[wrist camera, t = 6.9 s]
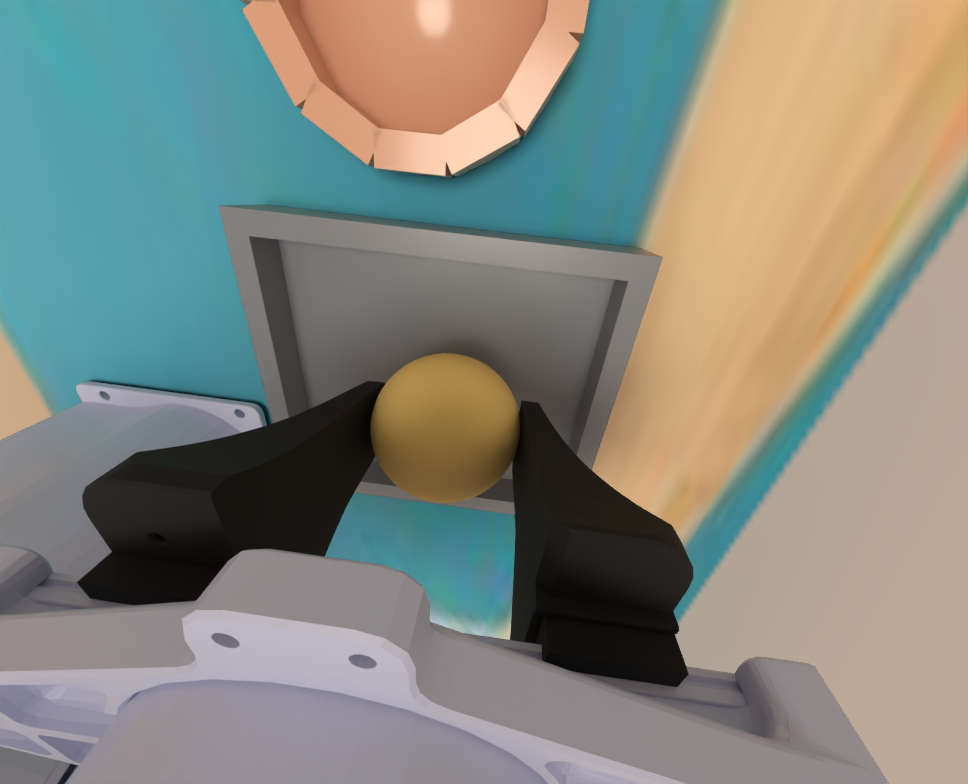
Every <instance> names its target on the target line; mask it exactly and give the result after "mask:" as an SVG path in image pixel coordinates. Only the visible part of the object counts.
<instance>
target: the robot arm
mask: <svg viewBox="0 0 968 784" xmlns="http://www.w3.org/2000/svg"><path fill="white" fill-rule="evenodd" d="M384 385H385V383H383V382H376V381H367V382H364V383H362V384H360V385H358V386H356V387H354V388H352V389H350V390H348V391H346V392H344V393H342V394H340V395H338V396H336V397H334V398H332V399H330V400H328V401H326V402H324V403H322V404H320V405H317V406H315V407H313V408H311V409H308V410H306V411H304V412H302V413H299V414H297V415H295V416H292V417H289V418H287V419H284V420H281V421H278V422H275V423H273V424H270V425H267V423H266V419H265V416H264V412H263V410H262V409H261V407H260V406H258V405H256V404H254V403H248V402H241V401H233V400H226V399H218V398H211V397H203V396H196V395H188V394H180V393H173V392H165V391H158V390H150V389H143V388H135V387H128V386H120V385H113V384H105V383H98V382H90V381H85V382H83V383H80V384H78V385H77V386H76V390H77V393H78V395H79V396H80V398H81V400H82V402H81V403H79V404H77V405H75V406H73V407H70V408H68V409H66V410H64V411H62V412H60V413H58V414H55V415H53V416H51V417H49V418H47V419H45V420H43V421H41V422H39V423H36V424H34V425H32V426H30V427H28V428H25V429H23V430H21V431H19V432H17V433H15V434H13V435H10V436H8V437H6V438H4V439H2V440H0V784H889V783H888V781H887V779H886V778H885V776H884V775H883V773H882V772H881V770H880V769H879V767H878V765H877V764H876V762H875V761H874V759H873V757H872V756H871V754H870V753H869V751H868V750H867V748H866V746H865V745H864V743H863V742H862V740H861V739H860V737H859V735H858V734H857V732H856V731H855V729H854V727H853V726H852V724H851V723H850V721H849V719H848V718H847V716H846V715H845V713H844V712H843V710H842V708H841V707H840V705H839V704H838V702H837V701H836V699H835V697H834V696H833V694H832V693H831V691H830V689H829V688H828V686H827V685H826V683H825V682H824V680H823V678H822V677H821V676H820V674H819V672H818V671H817V669H816V667H815V666H813V665H811V664H807V663H801V662H794V661H788V660H780V659H774V658H767V657H755V658H750V659H748V660H746V661H744V662H743V663H742V664H741V665H740V666H739V667H738V669H737V671H736V672H735V674H733V673H727V672H720V671H713V670H706V669H700V668H693V667H687V666H686V665H685V662H684V659H683V657H682V654H681V651H680V648H679V645H678V643H677V640H676V637H675V634H677V633H678V631H679V626H678V623H677V621H676V618H675V615H674V613H673V611H674V609H675V608H676V606H677V605H678V603H679V602H680V600H681V599H682V597H683V596H684V594H685V593H686V591H687V590H688V588H689V586H690V584H691V582H692V579H693V566H692V564H691V562H690V560H689V558H688V556H687V554H686V551H685V549H684V547H683V545H682V543H681V541H680V539H679V537H678V535H677V534H676V532H675V530H674V528H673V526H672V525H670V524H669V523H667V522H665V521H663V520H662V519H660V518H658V517H657V516H655V515H653V514H651V513H650V512H648V511H646V510H644V509H643V508H641V507H639V506H638V505H636V504H635V503H633V502H632V501H630V500H629V499H628V498H626V497H625V496H623V495H622V494H620V493H619V492H618V491H616V490H615V489H614V488H612V487H611V486H610V485H608V484H607V483H606V482H605V481H604V480H602V479H601V478H600V477H599V476H597V475H596V474H595V473H594V472H593V471H592V470H591V469H590V468H589V467H588V466H587V465H586V464H585V463H583V462H582V461H581V460H580V459H579V458H578V457H577V455H576V454H575V453H574V452H573V451H572V450H571V449H570V448H569V446H568V445H567V444H566V443H565V441H564V440H563V439H562V438H561V436H560V435H559V433H558V432H557V431H556V429H555V428H554V426H553V425H552V423H551V422H550V420H549V419H548V417H547V416H546V414H545V412H544V411H543V409H542V407H541V406H540V404H539V403H537V402H530V401H522V400H521V406H520V411H519V417H520V437H519V443H518V448H517V451H516V454H515V456H514V459H513V461H512V476H513V492H514V508H515V529H516V535H515V561H514V582H513V601H512V620H511V636H510V640H506V639H499V638H492V637H486V636H479V635H472V634H465V633H461V632H458V631H455V630H452V629H449V628H446V627H444V626H441V625H438V624H435V623H432V622H430V619H429V618H430V603H429V600H428V598H427V595H426V593H425V590H424V588H423V587H422V586H421V584H419V583H418V582H417V581H415V580H414V579H413V578H411V577H410V576H409V575H407V574H406V573H405V572H403V571H399V570H396V569H393V568H390V567H386V566H383V565H379V564H372V563H365V562H358V561H351V560H344V559H337V558H330V557H325V554H326V552H327V550H328V547H329V545H330V542H331V540H332V538H333V535H334V533H335V531H336V528H337V526H338V524H339V522H340V519H341V517H342V515H343V513H344V510H345V508H346V507H347V505H348V503H349V501H350V499H351V497H352V495H353V494H354V492H355V490H356V489H357V487H358V485H359V484H360V482H361V480H362V478H363V477H364V475H365V473H366V472H367V470H368V468H369V467H370V465H371V463H372V461H373V460H374V458H375V453H374V450H373V446H372V441H371V430H370V428H371V417H372V412H373V409H374V405H375V402H376V400H377V398H378V395H379V393H380V392H381V390H382V388H383V387H384ZM242 411H243V412H244V413H243V412H242Z"/></svg>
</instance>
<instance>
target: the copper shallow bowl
mask: <svg viewBox="0 0 968 784" xmlns="http://www.w3.org/2000/svg"><path fill="white" fill-rule="evenodd" d="M240 1H242V2H243V3H245V4H246V5H247V6H246V7H245V8H244V9H243V12H244V14H245V16H246V18H247V19H248V21H249V23H250V25H251V27H252V29H253V30H254V32H255V34H256V36H257V38H258V39H259V41H260V43H261V45H262V47H263V48H264V50H265V52H266V54H267V56H268V58H269V59H270V61H271V63H272V65H273V67H274V68H275V70H276V72H277V74H278V76H279V77H280V79H281V81H282V83H283V85H284V87H285V88H286V90H287V92H288V94H289V96H290V97H291V99H292V101H293V103H294V105H295V106H296V107H298V108H301V109H302V112H301V114H303V115H304V116H305V117H307V118H308V119H309V120H310V121H312V122H313V123H314V124H316V125H317V126H318V127H319V128H321V129H322V130H323V131H325V132H326V133H327V134H328V135H330V136H331V137H332V138H334V139H335V140H336V141H337V142H339V143H340V144H341V145H343V146H344V147H345V148H346V149H348V150H349V151H350V152H352V153H353V154H354V155H355V156H357V157H358V158H359V159H360V160H362V161H363V162H364V163H366V164H367V165H369V166H373V167H374V168H377V169H381V170H386V171H394V172H403V173H412V174H419V175H429V176H438V177H447V178H452V175H454V176H457V177H458V176H460V175H462V174H464V173H466V172H467V171H469V170H471V169H474V168H476V167H478V166H481V165H483V164H485V163H487V162H489V161H491V160H492V159H494V158H495V157H497V156H499V155H500V154H502V153H503V152H505V151H506V150H507V149H509V148H511V147H513V146H515V145H516V144H518V143H519V139H520V138H521V137H522V136H523V137H525V136H526V135H527V133H528V132H529V130H530V128H531V127H532V125H533V124H534V122H535V120H536V119H537V118H538V116H539V115H540V113H541V112H542V111H543V109H544V108H545V106H546V105H547V103H548V101H549V100H550V98H551V96H552V94H553V92H554V91H555V89H556V87H557V85H558V84H559V82H560V81H561V79H562V77H563V76H564V74H565V73H566V71H567V69H568V68H569V66H570V65H571V63H572V61H573V60H574V57H575V55H576V52H577V49H578V47H579V44H580V41H581V39H582V36H583V34H584V29H585V23H586V17H587V12H588V6H589V0H240Z"/></svg>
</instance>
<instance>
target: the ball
mask: <svg viewBox="0 0 968 784" xmlns="http://www.w3.org/2000/svg"><path fill="white" fill-rule="evenodd" d="M370 430H371V441H372V446H373V450H374V453H375V456H376V458H377V460H378V462H379V464H380V466H381V468H382V469H383V471H384V472H385V474H386V475H387V476H388V477H389V478H390V480H391V481H392V482H393V483H394V484H395V485H397V486H398V487H399V488H400V489H402V490H403V491H405V492H407V493H408V494H410V495H412V496H414V497H417V498H419V499H422V500H426V501H430V502H436V503H453V502H460V501H464V500H467V499H470V498H473V497H475V496H477V495H479V494H481V493H483V492H484V491H486V490H487V489H489V488H490V487H492V486H493V485H494V484H495V483H496V482H497V481H498V480H499V479H500V478H501V477H502V476H503V475H504V473H505V472H506V471H507V469H508V468H509V466H510V464H511V462H512V461H513V459H514V456H515V454H516V451H517V448H518V443H519V437H520V417H519V411H518V407H517V404H516V401H515V399H514V396H513V394H512V392H511V390H510V389H509V387H508V386H507V384H506V383H505V382H504V381H503V379H502V378H501V377H500V376H499V375H498V374H497V373H496V372H495V371H494V370H493V369H491V368H490V367H489V366H487V365H486V364H484V363H482V362H480V361H478V360H476V359H473V358H471V357H468V356H464V355H460V354H453V353H441V354H433V355H429V356H425V357H422V358H419V359H416V360H414V361H412V362H410V363H409V364H407V365H405V366H404V367H402V368H401V369H400V370H398V371H397V372H396V373H395V374H394V375H393V376H392V377H391V378H390V379H389V380H388V381H387V382H386V384H385V385H384V387H383V388H382V390H381V392H380V393H379V395H378V398H377V400H376V402H375V405H374V409H373V412H372V417H371V428H370Z"/></svg>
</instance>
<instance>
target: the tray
mask: <svg viewBox="0 0 968 784" xmlns="http://www.w3.org/2000/svg"><path fill="white" fill-rule="evenodd" d="M219 210H220V214H221V218H222V222H223V226H224V230H225V234H226V238H227V242H228V246H229V250H230V254H231V258H232V262H233V266H234V270H235V274H236V278H237V282H238V286H239V290H240V294H241V298H242V302H243V306H244V310H245V314H246V318H247V322H248V326H249V330H250V334H251V338H252V342H253V346H254V350H255V354H256V358H257V362H258V366H259V370H260V374H261V378H262V382H263V386H264V390H265V394H266V398H267V402H268V406H269V410H270V414H271V418H272V422H273V423H275V422H278V421H281V420H284V419H287V418H289V417H292V416H295V415H297V414H299V413H302V412H304V411H306V410H308V409H311V408H313V407H315V406H317V405H320V404H322V403H324V402H326V401H328V400H330V399H332V398H334V397H336V396H338V395H340V394H342V393H344V392H346V391H348V390H350V389H352V388H354V387H356V386H358V385H360V384H362V383H364V382H367V381H376V382H383V383H385V384H386V382H387V381H388V380H389V379H390V378H391V377H392V376H393V375H394V374H395V373H396V372H397V371H398V370H400V369H401V368H402V367H404V366H405V365H407V364H409V363H410V362H412V361H414V360H416V359H419V358H422V357H425V356H429V355H433V354H441V353H453V354H460V355H464V356H468V357H471V358H473V359H476V360H478V361H480V362H482V363H484V364H486V365H487V366H489V367H490V368H491V369H493V370H494V371H495V372H496V373H497V374H498V375H499V376H500V377H501V378H502V379H503V381H504V382H505V383H506V384H507V386H508V387H509V389H510V390H511V392H512V394H513V396H514V399H515V401H516V404H517V407H518V411H520V406H521V400H522V401H530V402H537V403H539V404H540V406H541V407H542V409H543V411H544V412H545V414H546V416H547V417H548V419H549V420H550V422H551V423H552V425H553V426H554V428H555V429H556V431H557V432H558V433H559V435H560V436H561V438H562V439H563V440H564V441H565V443H566V444H567V445H568V446H569V448H570V449H571V450H572V451H573V452H574V453H575V454H576V455H577V457H578V458H579V459H580V460H581V461H582V462H583V463H585V464H586V465H587V466H588V467H589V468H590V469H591V470H592V467H593V464H594V461H595V458H596V455H597V452H598V449H599V446H600V443H601V440H602V437H603V434H604V431H605V428H606V425H607V422H608V419H609V416H610V413H611V410H612V407H613V405H614V402H615V399H616V396H617V393H618V390H619V387H620V384H621V381H622V378H623V375H624V372H625V369H626V366H627V363H628V360H629V357H630V354H631V351H632V348H633V345H634V342H635V339H636V336H637V333H638V330H639V327H640V324H641V321H642V318H643V315H644V312H645V309H646V306H647V303H648V300H649V297H650V294H651V291H652V288H653V285H654V282H655V279H656V276H657V273H658V270H659V267H660V264H661V261H662V258H663V257H660V256H658V255H655V254H653V253H650V252H648V251H646V250H643V249H641V248H634V247H626V246H617V245H609V244H600V243H591V242H583V241H574V240H566V239H557V238H548V237H540V236H531V235H523V234H514V233H505V232H497V231H488V230H480V229H471V228H462V227H454V226H445V225H437V224H428V223H419V222H411V221H402V220H394V219H385V218H376V217H368V216H359V215H351V214H342V213H333V212H325V211H316V210H308V209H299V208H290V207H282V206H273V205H223V206H219ZM354 493H361V494H369V495H376V496H383V497H390V498H397V499H405V500H412V501H419V502H426V503H433V504H441V505H448V506H455V507H462V508H469V509H476V510H484V511H491V512H498V513H505V514H512V515H515V508H514V492H513V476H512V462H511V464H510V466H509V468H508V469H507V471H506V472H505V473H504V475H503V476H502V477H501V478H500V479H499V480H498V481H497V482H496V483H495V484H494V485H493V486H492V487H490V488H489V489H487V490H486V491H484V492H483V493H481V494H479V495H477V496H475V497H473V498H470V499H467V500H464V501H460V502H453V503H436V502H430V501H426V500H422V499H419V498H417V497H414V496H412V495H410V494H408V493H407V492H405V491H403V490H402V489H400V488H399V487H398V486H397V485H395V484H394V483H393V482H392V481H391V480H390V478H389V477H388V476H387V475H386V474H385V472H384V471H383V469H382V468H381V466H380V464H379V462H378V460H377V458H376V456H375V458H374V460H373V461H372V463H371V465H370V467H369V468H368V470H367V472H366V473H365V475H364V477H363V478H362V480H361V482H360V484H359V485H358V487H357V489H356V490H355V492H354Z"/></svg>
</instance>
